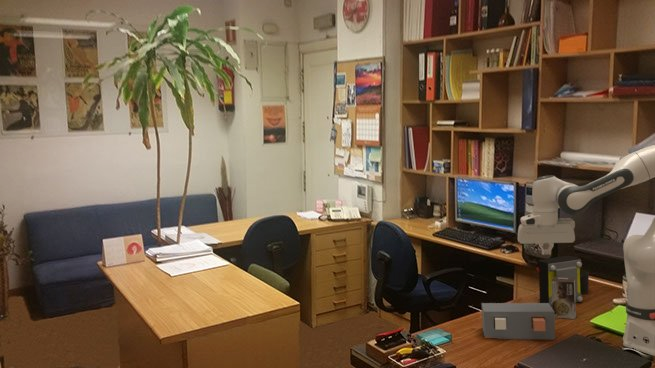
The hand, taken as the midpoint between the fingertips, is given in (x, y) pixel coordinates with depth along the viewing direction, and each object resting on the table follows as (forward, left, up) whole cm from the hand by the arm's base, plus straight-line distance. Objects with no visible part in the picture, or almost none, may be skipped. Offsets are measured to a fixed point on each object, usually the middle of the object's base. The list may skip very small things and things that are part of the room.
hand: (546, 254), depth 208 cm
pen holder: (+40, -50, -33) cm, 72 cm away
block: (+8, +8, -33) cm, 35 cm away
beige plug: (+10, +15, -29) cm, 34 cm away
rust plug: (+3, +3, -29) cm, 29 cm away
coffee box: (+17, -22, -33) cm, 43 cm away
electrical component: (+32, -33, -33) cm, 57 cm away
